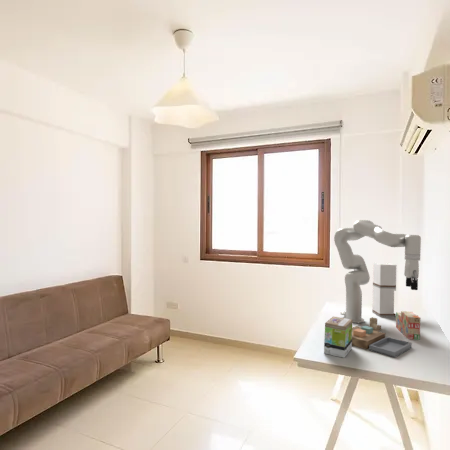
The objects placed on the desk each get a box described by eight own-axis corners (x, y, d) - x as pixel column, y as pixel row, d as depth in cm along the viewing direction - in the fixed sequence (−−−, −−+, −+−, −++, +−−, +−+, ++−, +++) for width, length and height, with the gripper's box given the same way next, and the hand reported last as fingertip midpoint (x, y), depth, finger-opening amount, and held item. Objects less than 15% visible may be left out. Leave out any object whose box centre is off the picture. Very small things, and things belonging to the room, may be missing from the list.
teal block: (360, 331, 179) (360, 327, 179) (364, 330, 182) (365, 325, 182) (369, 334, 176) (369, 329, 176) (373, 332, 179) (373, 327, 179)
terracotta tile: (353, 334, 174) (353, 330, 174) (357, 333, 177) (357, 328, 177) (361, 337, 170) (361, 332, 170) (365, 335, 173) (366, 330, 173)
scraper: (364, 334, 188) (364, 320, 188) (377, 328, 199) (377, 315, 199) (369, 335, 186) (369, 321, 186) (382, 330, 197) (382, 316, 197)
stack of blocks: (395, 327, 202) (396, 307, 202) (407, 328, 201) (407, 307, 201) (407, 339, 181) (407, 316, 181) (420, 340, 180) (420, 317, 180)
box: (369, 350, 164) (369, 345, 164) (387, 341, 177) (387, 336, 177) (394, 357, 155) (394, 352, 155) (411, 347, 168) (411, 342, 168)
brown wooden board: (337, 340, 176) (337, 333, 176) (356, 333, 190) (356, 326, 190) (367, 349, 164) (367, 341, 164) (385, 340, 178) (385, 333, 178)
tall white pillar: (395, 317, 225) (396, 265, 225) (379, 316, 225) (380, 264, 225) (387, 312, 236) (388, 263, 236) (372, 312, 236) (373, 262, 236)
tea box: (345, 358, 153) (346, 326, 153) (323, 353, 158) (323, 322, 158) (352, 348, 166) (352, 318, 166) (331, 344, 171) (332, 315, 171)
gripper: (400, 255, 194) (400, 284, 194) (409, 258, 177) (408, 290, 178) (415, 256, 192) (414, 285, 193) (425, 259, 176) (424, 291, 176)
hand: (411, 288), depth 185 cm, fingers open, 9 cm apart
